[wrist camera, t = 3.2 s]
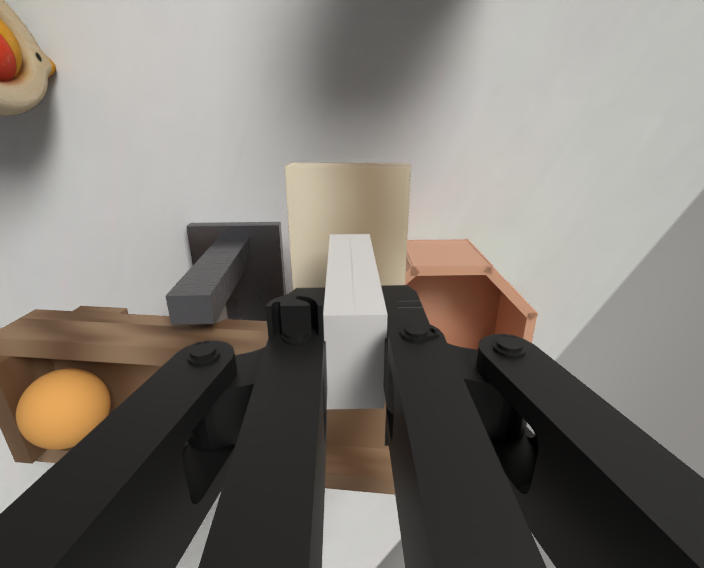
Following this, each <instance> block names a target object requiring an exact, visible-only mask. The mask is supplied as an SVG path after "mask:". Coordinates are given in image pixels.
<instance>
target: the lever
mask: <svg viewBox="0 0 704 568" xmlns="http://www.w3.org/2000/svg"><path fill="white" fill-rule="evenodd" d="M410 174H411V166H410V164H376V163H290V164H289V165H287V166H285V178H286V193H287V208H288V223H289V238H290V253H291V268H292V283H293V290H294V289H296V288H321V287H326V275H327V263H328V251H329V239H330V234H370V238H371V243H372V247H373V252H374V256H375V261H376V265H377V270H378V274H379V279H380V283H381V285H405V272H406V253H407V233H408V213H409V193H410ZM206 340H211V341H222V342H226V343H229V344H230V345H231V346H232V347H233V348H234V352H235V355H238V354H243V353H248V352H252V351H256V350H259V349H261V348H263V347H265V346H266V344H267V341H268V328H267V321H251V320H232V319H228V316H227V309H226V305H225V306H224V307H223V309H222V311H221V313H220V314H219V316H218V318H217V320H216V321H215V323H214V324H182V325H171V320H170V316H154V315H135V314H128V311H127V308H112V307H92V306H80V307H78V308H77V309H75V310H74V311H57V310H37V309H35V310H34V311H32V312H30V313H28V314H26V315H25V316H23V317H21V318H19V319H18V320H16V321H14V322H12V323H10V324H9V325H7V326H5V327H3V328H1V329H0V428H1V430H2V433H3V435H4V437H5V440H6V442H7V444H8V447H9V449H10V451H11V453H12V456H13V458H14V460H15V462H22V463H33V462H35V461H40V462H50V463H57V462H58V461H59V460H60V459H61V458H62V457H63V456H64V455H65V454H66V453H68V452H69V451H70V450H71V449H72V448H73V447H71V448H67V449H61V450H51V449H44V448H41V447H38V446H35V445H34V444H32V443H30V442H29V441H28V440H26V439H25V438H24V436H23V435H22V434H21V432H20V431H19V429H18V426H17V422H16V409H17V405H18V402H19V400H20V398H21V396H22V394H23V393H24V391H25V390H26V389H27V388H28V387H29V386H30V385H31V384H32V383H33V382H34V381H35V380H37V379H38V378H40V377H41V376H43V375H45V374H47V373H50V372H52V371H55V370H60V369H66V368H76V369H82V370H86V371H88V372H91V373H93V374H95V375H96V376H98V377H99V378H100V379H101V380H102V381H103V382H104V384H105V385H106V387H107V388H108V391H109V394H110V399H111V406H110V411H109V414H110V413H111V412H112V411H114V410H115V409H116V408H117V407H118V406H119V405H120V404H121V403H122V402H123V401H125V400H126V399H127V398H128V397H129V396H130V395H131V394H132V393H133V392H134V391H136V390H137V389H138V388H139V387H140V386H141V385H142V384H143V383H144V382H145V381H146V380H148V379H149V378H150V377H151V376H152V375H153V374H154V373H155V372H156V371H157V370H159V369H160V368H161V367H162V366H163V365H164V364H165V363H166V362H167V361H168V360H169V359H171V358H172V357H173V356H174V355H175V354H176V353H177V352H179V351H180V350H182V349H183V348H185V347H186V346H189V345H192V344H194V343H196V342H200V341H202V342H203V341H206ZM385 420H386V401H385V404H384V408H376V409H327V442H326V468H325V488H330V489H340V490H351V491H362V492H373V493H383V494H394V495H395V488H394V481H393V474H392V466H391V459H390V452H389V446H385Z"/></svg>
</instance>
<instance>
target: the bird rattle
mask: <svg viewBox="0 0 704 568" xmlns="http://www.w3.org/2000/svg"><path fill="white" fill-rule="evenodd" d="M55 70H56V66H55V64H54V63H53V62H52V61H51V60H50V58H49V57H48V56H47V55H45V54H44V53H43V51H42V50H41V49H40V47H39V46H38V44H37V42H36V41H35V39H34V37H33V36H32V34H31V33H30V31H29V30H28V29H27V27H26V26H25V25H24V23H23V22H22V21H21V19H20V18H19V17H18V16H17V15H16V13H15V12H14V11H13V10H12V9H11V8H10V7H9V6H8V4H7V3H6V2H5V1H4V0H0V116H11V115H18V114H21V113H24V112H27V111H29V110H31V109H32V108H34V107H35V106H36V105H37V104H38V103H40V101H41V100H42V99H43V98H44V96H45V94H46V91H47V87H48V77H50V76H51V75H53V74H54V72H55Z"/></svg>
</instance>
